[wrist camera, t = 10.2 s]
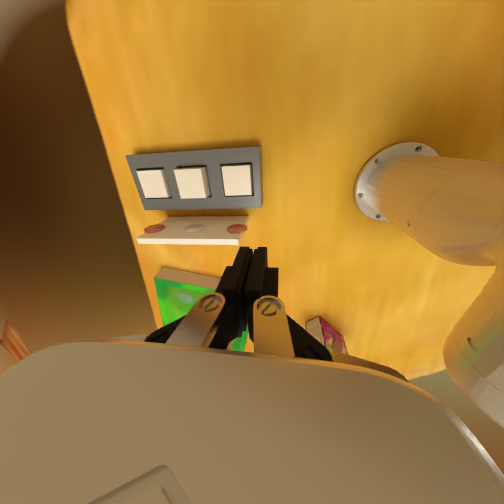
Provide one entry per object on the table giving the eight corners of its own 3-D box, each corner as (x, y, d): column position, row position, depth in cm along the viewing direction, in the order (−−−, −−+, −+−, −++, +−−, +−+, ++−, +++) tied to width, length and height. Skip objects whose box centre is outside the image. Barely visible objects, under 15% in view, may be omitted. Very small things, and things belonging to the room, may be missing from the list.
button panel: (261, 145, 32) (251, 147, 23) (263, 220, 39) (257, 245, 30) (136, 154, 36) (84, 158, 26) (158, 220, 43) (123, 243, 33)
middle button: (206, 166, 33) (200, 168, 31) (211, 193, 36) (205, 197, 33) (181, 167, 34) (173, 169, 31) (188, 194, 36) (180, 198, 34)
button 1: (252, 163, 33) (249, 165, 31) (253, 191, 36) (251, 194, 33) (226, 164, 34) (221, 166, 31) (229, 191, 36) (225, 195, 34)
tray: (173, 325, 63) (165, 338, 59) (165, 265, 50) (154, 277, 46) (245, 341, 62) (243, 356, 57) (256, 284, 49) (254, 297, 44)
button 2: (169, 167, 36) (160, 169, 33) (175, 193, 38) (168, 197, 35) (146, 169, 36) (136, 171, 34) (154, 194, 39) (145, 197, 36)
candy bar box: (344, 336, 53) (365, 405, 39) (328, 342, 55) (344, 410, 41) (319, 314, 50) (333, 381, 36) (304, 321, 52) (312, 387, 38)
